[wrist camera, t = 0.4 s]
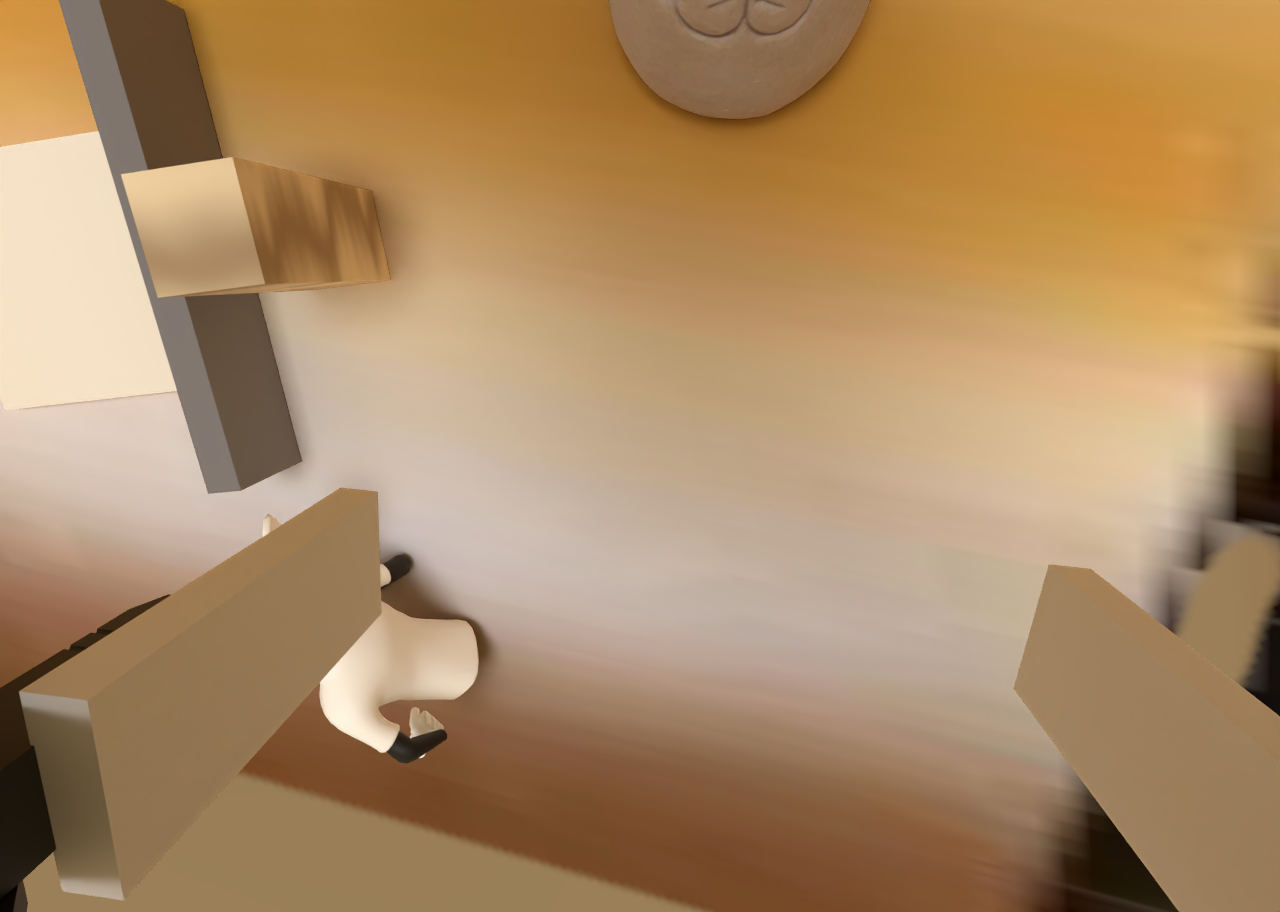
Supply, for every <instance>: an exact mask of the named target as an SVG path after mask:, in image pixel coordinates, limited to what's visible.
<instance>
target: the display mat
mask: <svg viewBox="0 0 1280 912" xmlns="http://www.w3.org/2000/svg"><path fill="white" fill-rule="evenodd" d="M171 391H177V389H176V385H175V382H174V379H173V375H172V372H171V369H170V366H169V362H168V359H167V356H166V352H165V349H164V346H163V342H162V339H161V336H160V333H159V329H158V326H157V323H156V319H155V316H154V313H153V309H152V306H151V303H150V300H149V296H148V293H147V290H146V286H145V283H144V280H143V276H142V273H141V270H140V267H139V263H138V260H137V257H136V253H135V250H134V247H133V243H132V240H131V237H130V233H129V230H128V227H127V224H126V220H125V217H124V214H123V210H122V207H121V204H120V200H119V197H118V194H117V191H116V187H115V184H114V181H113V177H112V174H111V171H110V167H109V164H108V161H107V158H106V154H105V151H104V148H103V144H102V141H101V138H100V134H99V131H96V132H90V133H84V134H77V135H71V136H65V137H59V138H53V139H47V140H41V141H35V142H28V143H22V144H16V145H10V146H4V147H0V399H1V402H2V404H3V407H4V410H12V409H21V408H30V407H39V406H48V405H56V404H65V403H74V402H83V401H92V400H101V399H109V398H118V397H127V396H136V395H145V394H154V393H162V392H171Z"/></svg>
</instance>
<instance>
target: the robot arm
mask: <svg viewBox="0 0 1280 912" xmlns="http://www.w3.org/2000/svg"><path fill="white" fill-rule="evenodd" d="M381 614H382V611H381V581H380V550H379V520H378V492H375V491H365V490H356V489H347V488H340V489H338V490H336V491H335V492H333V493H332V494H330V495H329V496H327V497H325V498H324V499H322V500H321V501H319V502H317V503H316V504H314V505H313V506H311V507H310V508H308V509H306V510H305V511H303V512H302V513H300V514H299V515H297V516H295V517H294V518H292V519H291V520H289V521H287V522H286V523H284V524H283V525H281V526H280V527H278V528H276V529H275V530H273V531H272V532H270V533H269V534H267V535H265V536H264V537H262V538H261V539H259V540H257V541H256V542H254V543H253V544H251V545H250V546H248V547H246V548H245V549H243V550H242V551H240V552H238V553H237V554H235V555H234V556H232V557H231V558H229V559H227V560H226V561H224V562H223V563H221V564H220V565H218V566H216V567H215V568H213V569H212V570H210V571H208V572H207V573H205V574H204V575H202V576H201V577H199V578H197V579H196V580H194V581H193V582H191V583H189V584H188V585H186V586H185V587H183V588H182V589H180V590H178V591H177V592H175V593H174V594H172V595H166V596H163V597H161V598H158V599H155V600H153V601H150V602H147V603H145V604H142V605H139V606H137V607H134V608H131V609H129V610H127V611H126V612H124V613H122V614H121V615H119V616H117V617H116V618H114V619H113V620H111V621H109V622H108V623H106V624H104V625H103V626H101V627H99V628H98V629H97V632H96V633H90V634H88V635H86V636H85V637H83V638H81V639H80V640H78V641H77V642H75V643H73V644H72V645H71V647H70V649H69V650H65V649H63V650H62V651H60V652H59V653H57V654H55V655H54V656H52V657H50V658H49V659H47V660H45V661H44V662H42V663H41V664H39V665H37V666H36V667H34V668H32V669H31V670H29V671H27V672H26V673H24V674H23V675H21V676H19V677H18V678H16V679H14V680H13V681H11V682H9V683H8V684H6V685H5V686H3V687H1V688H0V912H27V904H28V902H27V897H26V892H25V887H24V883H23V879H24V878H25V877H26V876H27V875H28V874H30V873H31V872H32V871H33V870H34V869H35V868H36V867H37V866H38V865H39V864H40V863H42V862H43V861H44V860H45V859H46V858H47V857H48V856H49V855H50V854H51V853H52V852H54V856H55V861H56V865H57V870H58V875H59V879H60V884H61V888H62V891H63V892H70V893H78V894H84V895H91V896H98V897H104V898H111V899H118V900H125V899H126V897H127V896H128V895H129V894H130V893H131V892H132V891H133V890H134V889H135V887H136V886H137V885H138V884H139V883H140V882H141V881H142V880H143V878H144V877H145V876H146V875H147V874H148V873H149V872H150V871H151V870H152V869H153V867H154V866H155V865H156V864H157V863H158V862H159V861H160V860H161V858H162V857H163V856H164V855H165V854H166V853H167V852H168V851H169V849H170V848H171V847H172V846H173V845H174V844H175V843H176V842H177V841H178V840H179V838H180V837H181V836H182V835H183V834H184V833H185V832H186V831H187V830H188V828H189V827H190V826H191V825H192V824H193V823H194V822H195V821H196V820H197V818H198V817H199V816H200V815H201V814H202V813H203V812H204V811H205V810H206V808H207V807H208V806H209V805H210V804H211V803H212V802H213V801H214V800H215V798H216V797H217V796H218V795H219V794H220V793H221V792H222V791H223V789H224V788H225V787H226V786H227V785H228V784H229V783H230V782H231V780H232V779H233V778H234V777H235V776H236V775H237V774H238V773H239V772H240V771H241V769H242V768H243V767H244V766H245V765H246V764H247V763H248V762H249V761H250V759H251V758H252V757H253V756H254V755H255V754H256V753H257V752H258V751H259V749H260V748H261V747H262V746H263V745H264V744H265V743H266V742H267V741H268V739H269V738H270V737H271V736H272V735H273V734H274V733H275V732H276V731H277V729H278V728H279V727H280V726H281V725H282V724H283V723H284V722H285V720H286V719H287V718H288V717H289V716H290V715H291V714H292V713H293V712H294V710H295V709H296V708H297V707H298V706H299V705H300V704H301V703H302V702H303V700H304V699H305V698H306V697H307V696H308V695H309V694H310V693H311V692H312V690H313V689H314V688H315V687H316V686H317V685H318V684H319V683H320V682H321V680H322V679H323V678H324V677H325V676H326V675H327V674H328V673H329V672H330V670H331V669H332V668H333V667H334V666H335V665H336V664H337V663H338V662H339V660H340V659H341V658H342V657H343V656H344V655H345V654H346V653H347V651H348V650H349V649H350V648H351V647H352V646H353V645H354V644H355V643H356V641H357V640H358V639H359V638H360V637H361V636H362V635H363V634H364V633H365V631H366V630H367V629H368V628H369V627H370V626H371V625H372V624H373V623H374V621H375V620H376V619H377V618H378V617H379V616H380V615H381ZM1014 690H1015V691H1016V692H1017V694H1018V695H1019V696H1020V698H1021V699H1022V700H1023V702H1024V703H1025V704H1026V706H1027V707H1028V709H1029V710H1030V711H1031V713H1032V714H1033V715H1034V717H1035V718H1036V719H1037V721H1038V722H1039V723H1040V725H1041V726H1042V727H1043V729H1044V730H1045V731H1046V733H1047V734H1048V735H1049V737H1050V738H1051V740H1052V741H1053V742H1054V744H1055V745H1056V746H1057V748H1058V749H1059V750H1060V752H1061V753H1062V754H1063V756H1064V757H1065V758H1066V760H1067V761H1068V762H1069V764H1070V765H1071V766H1072V768H1073V769H1074V771H1075V772H1076V773H1077V775H1078V776H1079V777H1080V779H1081V780H1082V781H1083V783H1084V784H1085V785H1086V787H1087V788H1088V789H1089V791H1090V792H1091V793H1092V795H1093V796H1094V797H1095V799H1096V800H1097V802H1098V803H1099V804H1100V806H1101V807H1102V808H1103V810H1104V811H1105V812H1106V814H1107V815H1108V816H1109V818H1110V819H1111V820H1112V822H1113V823H1114V824H1115V826H1116V827H1117V828H1118V830H1119V831H1120V833H1121V834H1122V835H1123V837H1124V838H1125V839H1126V841H1127V842H1128V843H1129V845H1130V846H1131V847H1132V849H1133V850H1134V851H1135V853H1136V854H1137V855H1138V857H1139V858H1140V859H1141V861H1142V862H1143V864H1144V865H1145V866H1146V868H1147V869H1148V870H1149V872H1150V873H1151V874H1152V876H1153V877H1154V878H1155V880H1156V881H1157V882H1158V884H1159V885H1160V886H1161V888H1162V889H1163V890H1164V892H1165V893H1166V895H1167V896H1168V897H1169V899H1170V900H1171V901H1172V903H1173V904H1174V905H1175V907H1176V908H1177V909H1178V911H1179V912H1280V716H1278V715H1277V714H1276V713H1275V712H1273V711H1272V710H1271V709H1269V708H1268V707H1267V706H1266V705H1264V704H1263V703H1262V702H1260V701H1259V700H1258V699H1257V698H1255V697H1254V696H1253V695H1251V694H1250V693H1249V692H1248V691H1246V690H1245V689H1244V688H1242V687H1241V686H1240V685H1239V684H1237V683H1236V682H1235V681H1234V680H1232V679H1231V678H1230V677H1228V676H1227V675H1226V674H1224V673H1223V672H1222V671H1221V670H1219V669H1218V668H1217V667H1215V666H1214V665H1213V664H1211V663H1210V662H1209V661H1208V660H1207V659H1205V658H1204V657H1203V656H1201V655H1200V654H1199V653H1198V652H1196V651H1195V650H1193V649H1192V648H1191V647H1190V646H1189V645H1187V644H1186V643H1185V642H1184V641H1182V640H1181V639H1180V638H1178V637H1177V636H1176V635H1175V634H1173V633H1172V632H1171V631H1169V630H1168V629H1167V628H1166V627H1164V626H1163V625H1162V624H1160V623H1159V622H1158V621H1157V620H1155V619H1154V618H1153V617H1151V616H1150V615H1149V614H1148V613H1146V612H1145V611H1144V610H1143V609H1141V608H1140V607H1139V606H1137V605H1136V604H1135V603H1134V602H1132V601H1131V600H1130V599H1128V598H1127V597H1126V596H1125V595H1123V594H1122V593H1121V592H1119V591H1118V590H1117V589H1116V588H1114V587H1113V586H1112V585H1110V584H1109V583H1108V582H1107V581H1105V580H1104V579H1103V578H1102V577H1100V576H1099V575H1098V574H1096V573H1095V572H1094V571H1093V570H1091V569H1086V568H1077V567H1068V566H1058V565H1049V566H1048V570H1047V573H1046V577H1045V580H1044V584H1043V587H1042V591H1041V594H1040V598H1039V601H1038V605H1037V608H1036V612H1035V615H1034V619H1033V623H1032V626H1031V630H1030V633H1029V637H1028V640H1027V644H1026V647H1025V651H1024V654H1023V658H1022V661H1021V665H1020V668H1019V672H1018V675H1017V679H1016V682H1015V686H1014Z"/></svg>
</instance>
